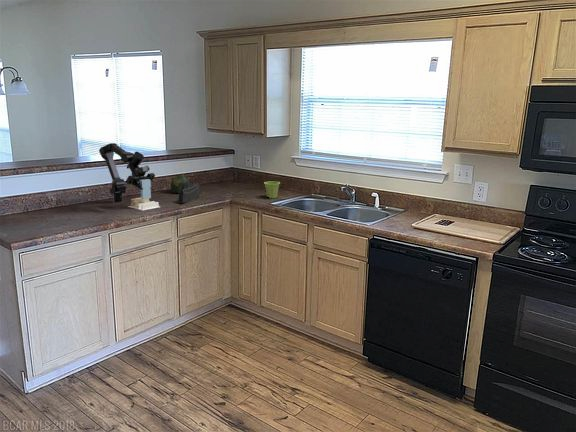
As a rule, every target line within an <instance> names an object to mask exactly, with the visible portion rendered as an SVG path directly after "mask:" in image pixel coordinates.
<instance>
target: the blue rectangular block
mask: <svg viewBox="0 0 576 432" xmlns="http://www.w3.org/2000/svg"><path fill="white" fill-rule="evenodd" d="M139 182H140V184H141V186H142V187H143V190H141V189H140V198H141V199H149V200H150V199H152V192H151V191H152V188H151V187H150V179H146V180H145V179H144V180H139Z"/></svg>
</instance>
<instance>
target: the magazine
mask: <svg viewBox="0 0 576 432" xmlns="http://www.w3.org/2000/svg"><path fill="white" fill-rule="evenodd" d="M201 194H202V187H201V185H200V184H199V182H198V181H196V182H195V183H194V184H192V186H191V185H190V188H187V189H180V192H179V193H178V199H177V200H178V201H177V203H179V204H185V203H189V202H192V201H195V200H196V199H197V198H199V196H200V195H201Z"/></svg>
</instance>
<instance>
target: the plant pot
mask: <svg viewBox="0 0 576 432" xmlns="http://www.w3.org/2000/svg"><path fill="white" fill-rule="evenodd" d="M263 184H264V186H265V192H266V196H267V197H269V199H276V197H278V194H279V193H278V192H279V187H280V184H281V182H280V181H264V183H263Z"/></svg>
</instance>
